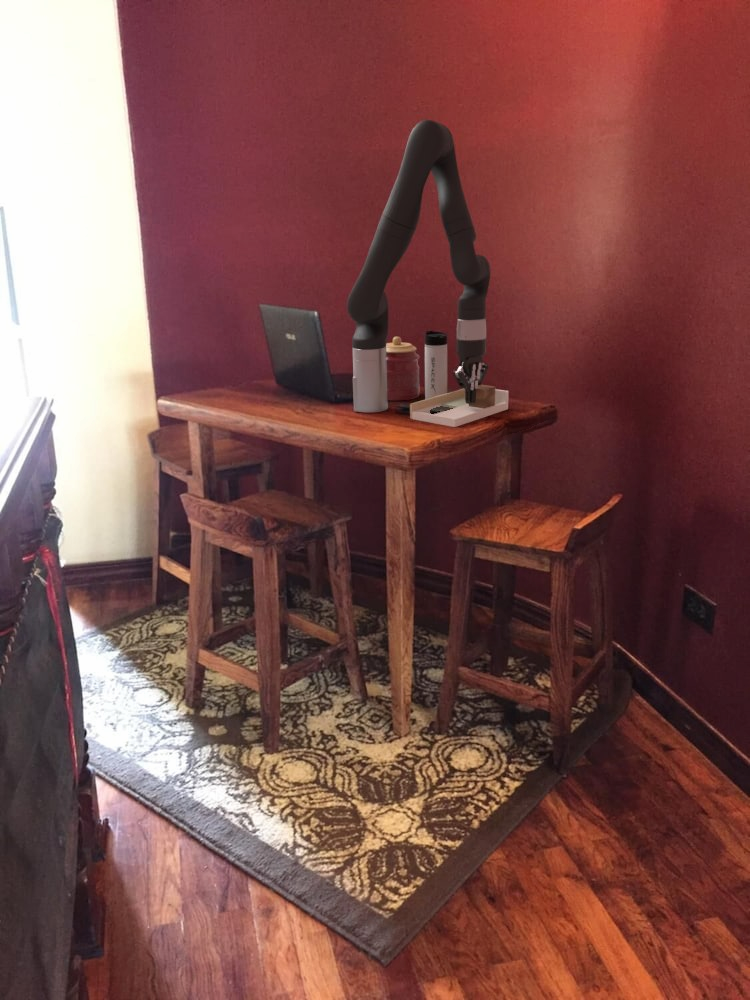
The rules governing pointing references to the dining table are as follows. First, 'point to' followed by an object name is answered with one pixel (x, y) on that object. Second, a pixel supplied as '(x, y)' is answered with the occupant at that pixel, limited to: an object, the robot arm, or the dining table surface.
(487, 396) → the block
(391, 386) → the canister
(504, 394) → the tray
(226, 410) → the dining table surface
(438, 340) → the travel mug
